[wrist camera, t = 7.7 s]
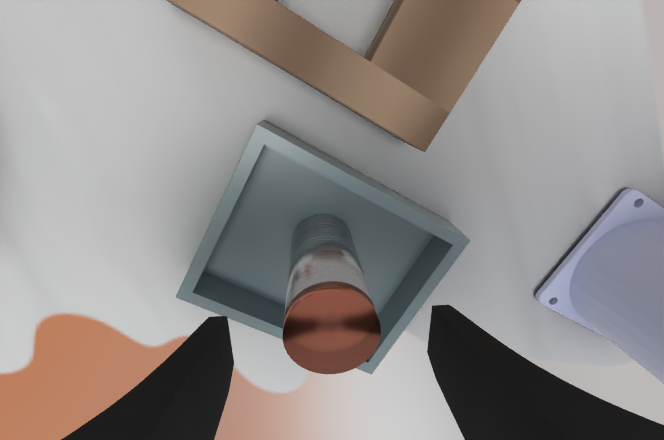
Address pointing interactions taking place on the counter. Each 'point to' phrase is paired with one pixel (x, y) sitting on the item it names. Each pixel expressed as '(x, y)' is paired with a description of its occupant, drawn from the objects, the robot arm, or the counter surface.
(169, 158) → the counter surface
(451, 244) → the tray
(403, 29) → the block
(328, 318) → the spice jar
